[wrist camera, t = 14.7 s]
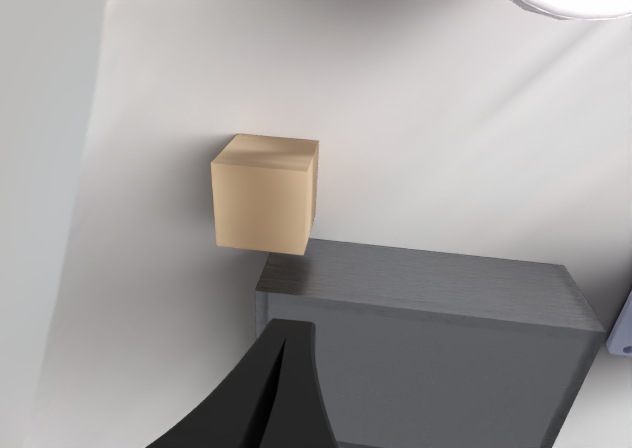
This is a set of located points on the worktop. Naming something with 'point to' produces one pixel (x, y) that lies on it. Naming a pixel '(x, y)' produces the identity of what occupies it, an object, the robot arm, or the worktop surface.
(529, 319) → the player housing
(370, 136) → the worktop surface
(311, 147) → the oak block
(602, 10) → the smoothie
